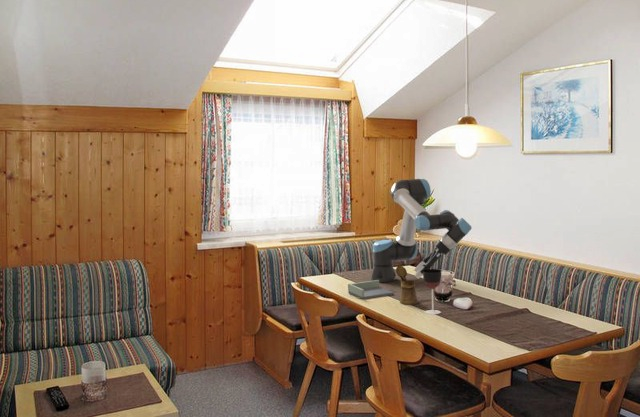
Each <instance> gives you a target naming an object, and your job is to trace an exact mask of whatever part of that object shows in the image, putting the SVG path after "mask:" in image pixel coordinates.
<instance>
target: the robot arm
mask: <svg viewBox="0 0 640 417" xmlns="http://www.w3.org/2000/svg"><path fill="white" fill-rule="evenodd" d="M431 192H432V190H431V185H430V183H429V182H428V180H426V179H425V178H413V179H412V178H411V179H400V180H397V181H396V182H394V183H393V185H391V188H390V197H391V200H392V201H393V202H394V203H395V204H397V205H400V206H401V208H403V209H404V213H403V216H402V217H403V218H402V221H401V227H400V231H399V235H397V236H396V238H395V241H392V239H382V240H377V241H375V242H374V243H373V244H372V260H373V262H372V263H373V265H372V271H371V275H370V281H374V280H379V283H390V282H391V283H392V282H394V281H396V280H397V273H396V270H395V268H394V262H402V261H409V260H413V259H416V257H417V255H418V250H419V248H418V247H419V245H418V243H417V242H416V239H415V234H416V230H418V231H433V230H445V229H446V230H448V231H447V232H445V233H444V235H443V236H441V238H440V239H439V240H438V241H437V242H436V243H435V244H434V245H435V248H434V249H433V250H432V251H430V252H429V253H428V254H427V255H426V256H425V257H424V258H423V260H421V262H419V263H418V264H417V266H416V267H415V268H414V269H413V271H415V274H414V277H415V278H416V279H418V280H420V278H421V277H422V276H423V270H427V269H432V267H433V265H434V264H435V263H436V262H437V261H438V259H439V258H441V257H442V254H443V255H445V256H446V255H447V254H448V253H449V252H451V250H452V249H454V247H457V244H459V243H460V241H461V240H462V239H463V238H465V236H466V235H468V234H469V232H470V231H471V230H472V228H473V227H472V225H471V224H470V223H469V222H467V221H466V220H465V219H464V218H463V217H461V218H458V217H457V216H456V215H455V214H454V213H453V212H452V211H450V210H447V209H445V210H442V211H441V212H440V213H438V214H430V213H429V212H428V211H427V210H426V209H425V208H424V207H423V205H425V201H426V200H428V199H429V198H430V197H431V196H432V194H431Z"/></svg>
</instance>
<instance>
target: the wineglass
mask: <svg viewBox="0 0 640 417" xmlns="http://www.w3.org/2000/svg"><path fill="white" fill-rule="evenodd" d="M422 276H423V281H424V282H423V283H424V285H425V286H426V287H427V288H429V289H431V309H428V310H427V309H426V310H425V312H424V313H425V314H428V315H438V314H441V313H442V312H441V311H440V310H436V309H434V306H435V305H434V289H436V288H437V287H439V286H440V284H441V280H442V270H441V269H438V268H437V269H436V268H430V269H427V270H423V275H422Z"/></svg>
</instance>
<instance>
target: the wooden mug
mask: <svg viewBox="0 0 640 417" xmlns="http://www.w3.org/2000/svg"><path fill="white" fill-rule="evenodd" d="M395 274H396V276H398V277H399V278H400V288H401V290H400V296H399V297H400V298H399V303H400V304H401V305H409V306H410V305H417V304H418V303H419V302H418V301H419V300H418V298H417V292H416V283H415V281H414V279H413V280H412V279H407V278H406V276H407V275H408V272H407V269H406V268H405V267H404V266H403V265H401V264H398V265H397V267H396V268H395Z"/></svg>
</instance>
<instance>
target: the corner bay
mask: <svg viewBox="0 0 640 417" xmlns="http://www.w3.org/2000/svg"><path fill="white" fill-rule="evenodd" d="M347 292H348V294H349V295H352V296H354V297H356V298H359V299H361V300H366V299H367V300H368V299H373V298H379V297H385V296H392V295H394V292H393V291H391V290H388V289H386V288H383V287H381V286H380V282H379V280H374V281H372V280H368V281H361V282H355V283H348V284H347Z"/></svg>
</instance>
